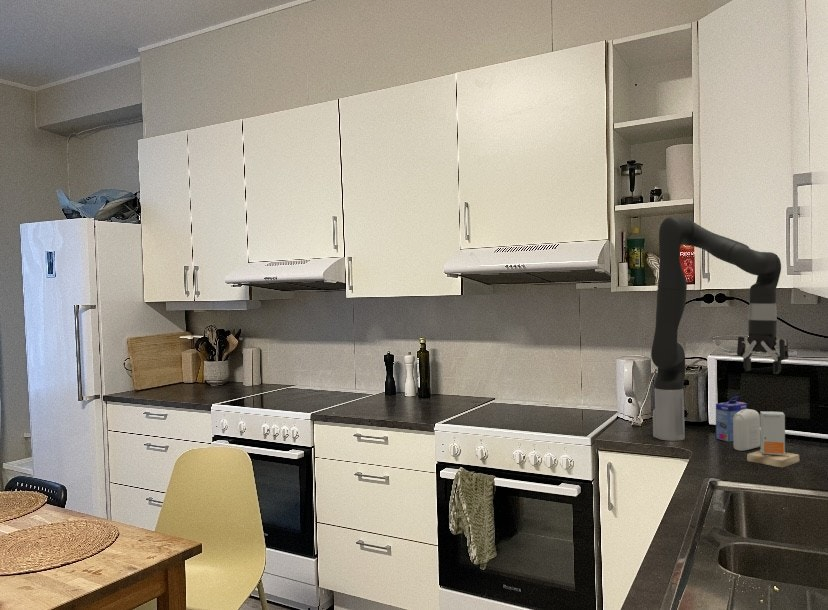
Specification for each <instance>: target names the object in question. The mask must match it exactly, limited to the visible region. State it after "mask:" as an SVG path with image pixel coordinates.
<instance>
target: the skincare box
mask: <svg viewBox="0 0 828 610" xmlns="http://www.w3.org/2000/svg"><path fill="white" fill-rule="evenodd" d="M759 415H760V447H759V448H760V450H761V452H762V454H772V455H785V452H786V414H785V413H784V412H783V411H764V410H763V411H761V410H760V412H759Z"/></svg>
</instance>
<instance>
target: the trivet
mask: <svg viewBox="0 0 828 610" xmlns="http://www.w3.org/2000/svg"><path fill="white" fill-rule="evenodd" d="M746 461H747V462H749V463H750V462H752V463H757V464H761V465H762V464H763V465H767V466H772V467H778V468H786V467H788V466H791V465H794V464H797V463H800V454H797V453H792V452H786V451H785V455H772V454H762V452H761V449H759V450H755V451H753V452H749V453H747V455H746Z"/></svg>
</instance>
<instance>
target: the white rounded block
mask: <svg viewBox="0 0 828 610" xmlns="http://www.w3.org/2000/svg"><path fill="white" fill-rule="evenodd" d="M732 442H733V449H734V450H736V451H741V452H742V451H743V452H744V451H748V450H752V449H756V448H757V449H758V448H761V447H760V412H758V411H757V410H755V409H750V408H747V409H744V410H741V411H739V412H737V413H736V414H735V415H734V417H733V441H732Z"/></svg>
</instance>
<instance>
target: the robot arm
mask: <svg viewBox="0 0 828 610" xmlns="http://www.w3.org/2000/svg"><path fill="white" fill-rule="evenodd" d="M681 246H689V247H694V248H698V249H701V250H704V251H706V253H708V254H711V256H713V257H715V258H716V259H719V260H721V261H723V262H726V263H728V264H731V265H733V266H736V267H737V268H739V269H740V270H742V271H743V272H746V273H747V274H749V275H750V274H751V275H753V276H757V277H756V282H755V283H753V284H752V285H751V286H750V288H749V307H748V322H747V323H748V325H747V326H748V327H747V328H748V329H747V331H748V337H747V336H745V335H742V336H738V337H737V347H736V348H737V349H736V355H737V356H738V357H742V358H743V362H742V363H743V364H742V365H743V369H744V371H746V372H749V371H751V370H752V356H753V355H754V354H755V353H759V352H761V353H765V354H766V353H767V354H768V355H769V356H770V357H771V358H772V359H773V362H772V374H773V375H779V374H780V373H781V371H782V361H784V360H788V359H789V345H788V343H789V342H788V339H787V338H781V339H779V338H777V333H778V332H777V322H778V321H777V320H778V319H777V318H778V312H777V309H778V308H777V304H776V303H777V291H776V290H777V287H778V284H779V280H780V276H781V272H782V261H781V259H780V257H779V256H778V254H777V253H774V252H770V251H768V252H767V251H757V250H755V249H752V248H751V247H750V246H748V245H747V244H745V243H742V242H740V241H737V240H735V239H731V238H729V237H725V236H724V235H723V236H722V235H720V234H717V233H714V232H713V231H710V230H708V229H706V228H704V227H703V226H701V225H700V224H697V223H696V222H695V221H693V220H691V219H689V218H685V217H680V216H679V217H677V216H668V217H666V218H665V219H663V221H662V222H661V224H660V227H659V230H658V247H659V248H658V250H659V261H658V263H659V266H658V281H657V290H656V291H657V292H656V293H657V294H656V312H655V313H656V314H655V330H654V334H653V335H654V336H653V340H652V346H651V352H650V356H651V362H652V363H653V365H654V366H656V367H657V372H656V373H657V374H656V378H655V379H654V409H652V434H653V435H652V436H653V438H656V439H657V440H662V441H669V442H670V441H672V442H674V441H684V440H685V435H686V434H685V433H686V432H685V398H684V395H685V394H684V393H685V392H684V382H685V379H686V353H685V350H684V348H683V346H682V345H681V344H680V343H678V331H679V325H680V322H681V319H682V317H683V314H684V310H685V307H686V303H687V302H686V301H687V293H688V292H687V289H688V284H687V279H686V276H685V273H684V271H683V270H684V269H683V268H682V264H681V261H680V260H681V258H680V257H681V256H680V253H681ZM747 343H748V344H749V346H748V347H747V348H746V345H747ZM776 345H777V346H778V347H779V350H778V349H777V348H776Z"/></svg>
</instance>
